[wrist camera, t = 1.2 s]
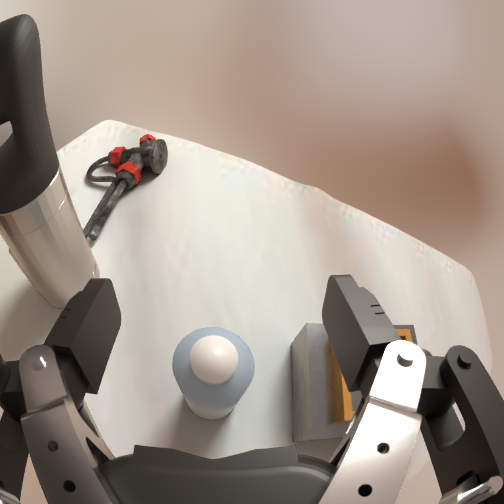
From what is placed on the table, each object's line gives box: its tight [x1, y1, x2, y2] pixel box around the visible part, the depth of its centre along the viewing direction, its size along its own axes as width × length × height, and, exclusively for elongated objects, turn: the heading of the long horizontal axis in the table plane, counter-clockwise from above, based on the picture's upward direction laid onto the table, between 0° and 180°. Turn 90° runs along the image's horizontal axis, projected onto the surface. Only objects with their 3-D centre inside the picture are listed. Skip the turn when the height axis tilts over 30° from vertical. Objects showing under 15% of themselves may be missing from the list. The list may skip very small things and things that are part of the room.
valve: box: [83, 134, 168, 240], centre depth 45 cm, size 6×26×15 cm
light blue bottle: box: [172, 327, 255, 420], centre depth 23 cm, size 6×6×15 cm
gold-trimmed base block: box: [291, 323, 432, 441], centre depth 27 cm, size 16×12×8 cm
